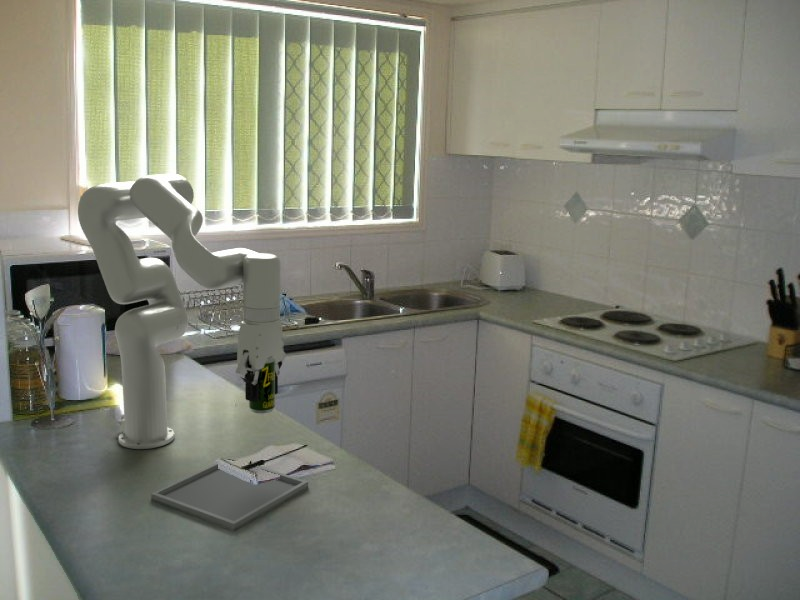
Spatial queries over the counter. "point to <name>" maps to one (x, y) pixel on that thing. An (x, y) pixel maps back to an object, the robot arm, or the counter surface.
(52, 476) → the counter surface
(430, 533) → the counter surface
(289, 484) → the grey rimmed serving tray
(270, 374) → the beer can
